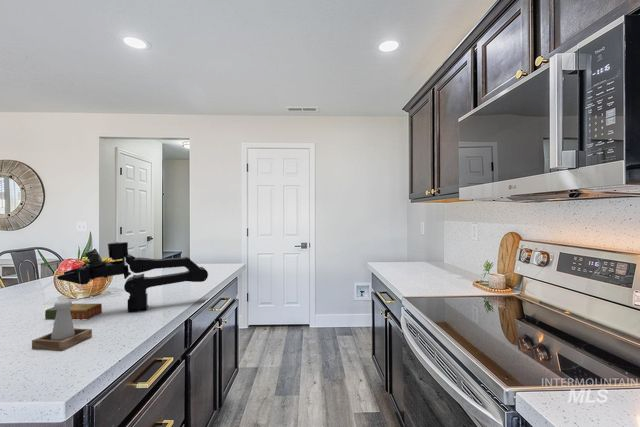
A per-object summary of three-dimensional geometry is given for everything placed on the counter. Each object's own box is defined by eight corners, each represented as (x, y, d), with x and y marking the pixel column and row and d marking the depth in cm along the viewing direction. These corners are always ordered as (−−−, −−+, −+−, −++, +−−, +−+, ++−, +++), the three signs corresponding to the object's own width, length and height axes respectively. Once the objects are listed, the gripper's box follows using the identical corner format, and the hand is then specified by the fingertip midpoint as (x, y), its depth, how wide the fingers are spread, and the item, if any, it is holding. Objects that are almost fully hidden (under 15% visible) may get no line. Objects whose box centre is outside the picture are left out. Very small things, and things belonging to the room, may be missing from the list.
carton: (86, 320, 118) (86, 309, 118) (44, 320, 118) (44, 309, 118) (102, 313, 126) (102, 302, 126) (62, 313, 127) (62, 302, 126)
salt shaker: (48, 348, 94) (48, 304, 93) (53, 341, 99) (53, 299, 99) (72, 344, 96) (72, 302, 96) (77, 337, 101) (76, 297, 101)
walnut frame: (64, 335, 103) (64, 327, 103) (91, 337, 102) (91, 329, 102) (31, 348, 93) (31, 340, 93) (62, 350, 92) (62, 342, 92)
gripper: (111, 246, 134) (65, 251, 126) (104, 251, 117) (51, 257, 110) (113, 272, 134) (67, 278, 127) (107, 281, 117) (54, 289, 110)
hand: (60, 275), depth 118 cm, fingers open, 9 cm apart
